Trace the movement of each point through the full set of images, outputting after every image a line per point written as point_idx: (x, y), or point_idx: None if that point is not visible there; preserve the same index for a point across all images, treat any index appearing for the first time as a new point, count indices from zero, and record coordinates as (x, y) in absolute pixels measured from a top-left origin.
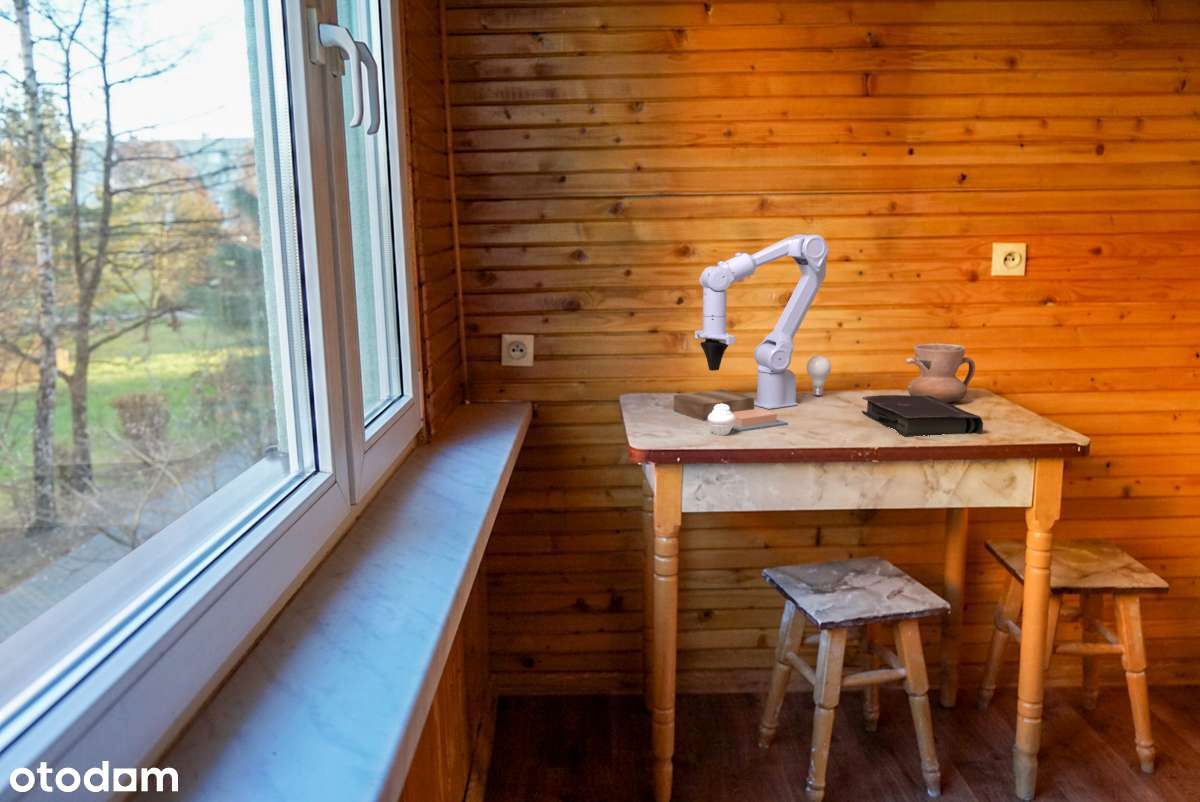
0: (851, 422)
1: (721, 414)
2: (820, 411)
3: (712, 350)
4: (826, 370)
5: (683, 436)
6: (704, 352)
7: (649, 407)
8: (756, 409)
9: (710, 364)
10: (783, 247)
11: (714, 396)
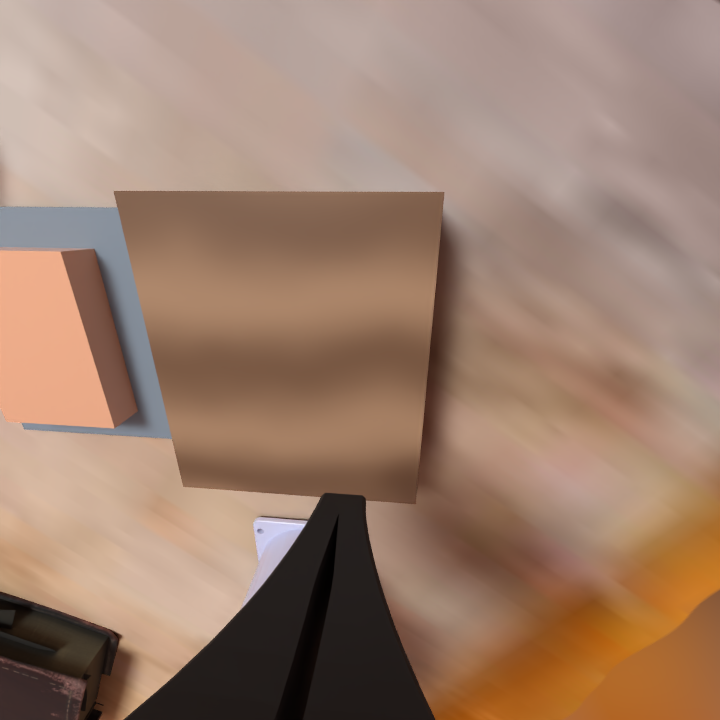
0: (25, 559)
1: None
2: (175, 590)
3: (177, 676)
4: None
5: None
6: (397, 639)
7: (605, 130)
8: (100, 414)
9: (322, 525)
10: None
11: (285, 374)
